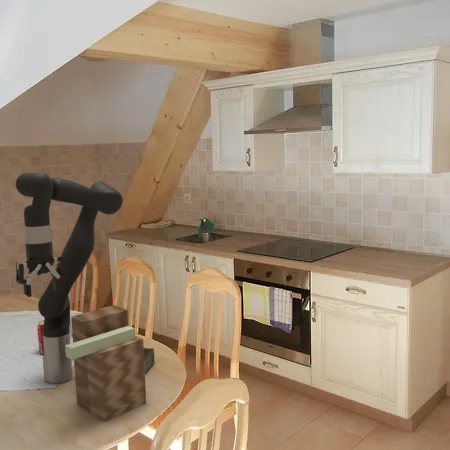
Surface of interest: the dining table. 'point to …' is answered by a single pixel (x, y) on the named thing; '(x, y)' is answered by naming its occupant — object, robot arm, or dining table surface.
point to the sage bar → (99, 342)
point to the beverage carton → (148, 358)
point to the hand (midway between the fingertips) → (42, 293)
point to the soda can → (40, 336)
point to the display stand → (108, 366)
